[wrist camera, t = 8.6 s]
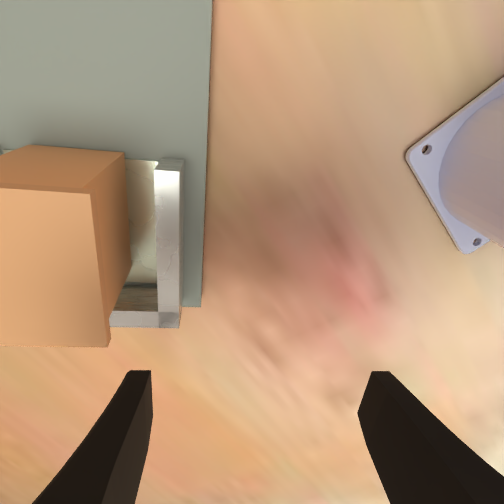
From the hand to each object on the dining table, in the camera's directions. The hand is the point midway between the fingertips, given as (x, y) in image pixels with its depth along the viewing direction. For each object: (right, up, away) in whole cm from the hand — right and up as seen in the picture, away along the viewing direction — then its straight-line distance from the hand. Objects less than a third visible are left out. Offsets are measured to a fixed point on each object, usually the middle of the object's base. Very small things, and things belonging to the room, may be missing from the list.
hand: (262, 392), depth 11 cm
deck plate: (-8, +9, +6) cm, 14 cm away
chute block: (-8, +7, +5) cm, 12 cm away
